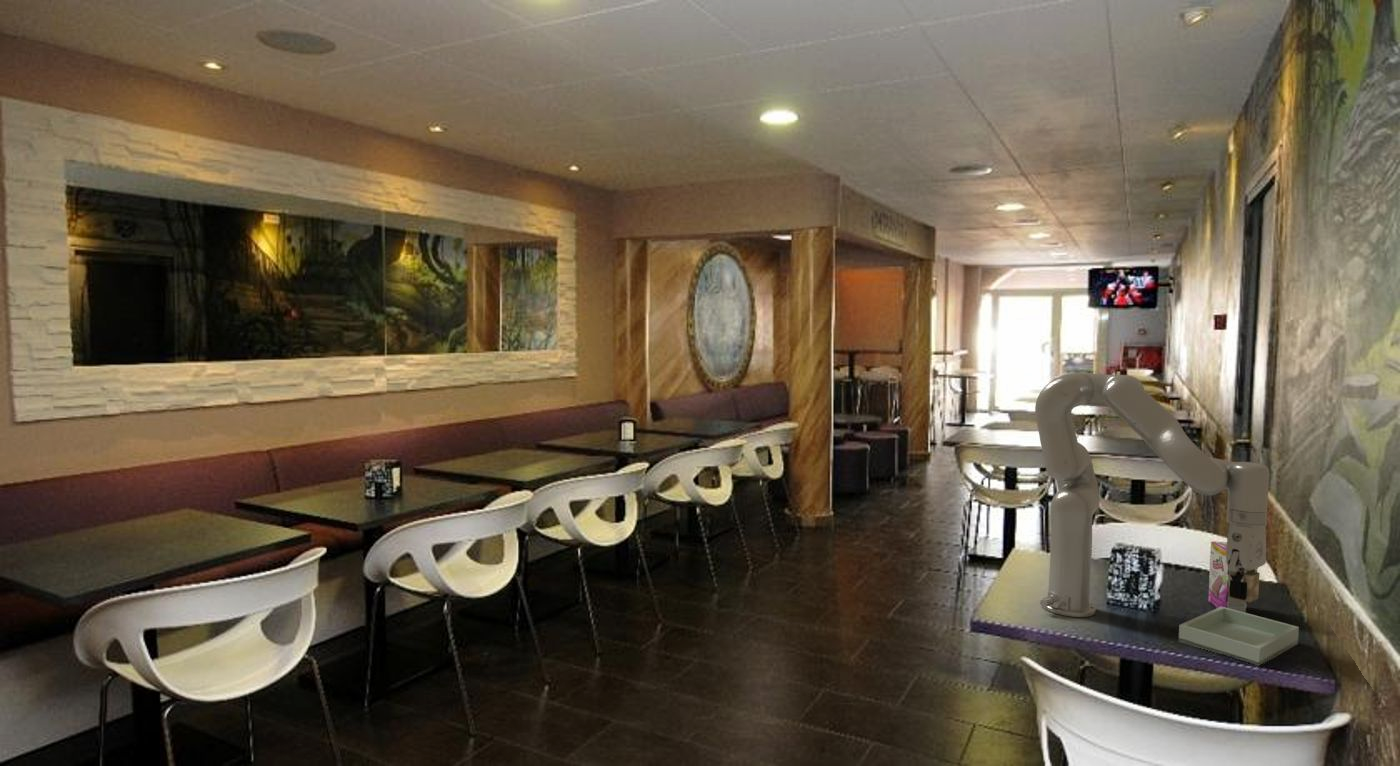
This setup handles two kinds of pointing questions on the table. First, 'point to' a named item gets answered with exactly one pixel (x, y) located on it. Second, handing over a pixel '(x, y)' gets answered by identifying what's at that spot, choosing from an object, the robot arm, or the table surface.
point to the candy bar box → (1221, 580)
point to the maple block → (1249, 585)
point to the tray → (1239, 635)
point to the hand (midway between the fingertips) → (1242, 595)
